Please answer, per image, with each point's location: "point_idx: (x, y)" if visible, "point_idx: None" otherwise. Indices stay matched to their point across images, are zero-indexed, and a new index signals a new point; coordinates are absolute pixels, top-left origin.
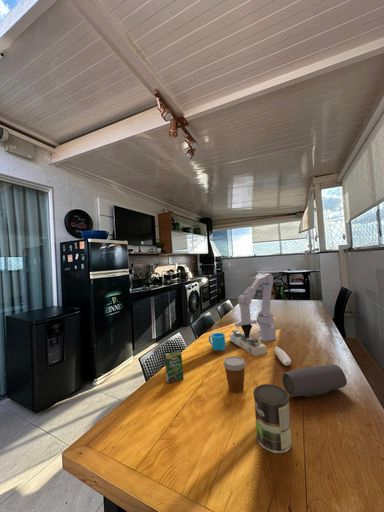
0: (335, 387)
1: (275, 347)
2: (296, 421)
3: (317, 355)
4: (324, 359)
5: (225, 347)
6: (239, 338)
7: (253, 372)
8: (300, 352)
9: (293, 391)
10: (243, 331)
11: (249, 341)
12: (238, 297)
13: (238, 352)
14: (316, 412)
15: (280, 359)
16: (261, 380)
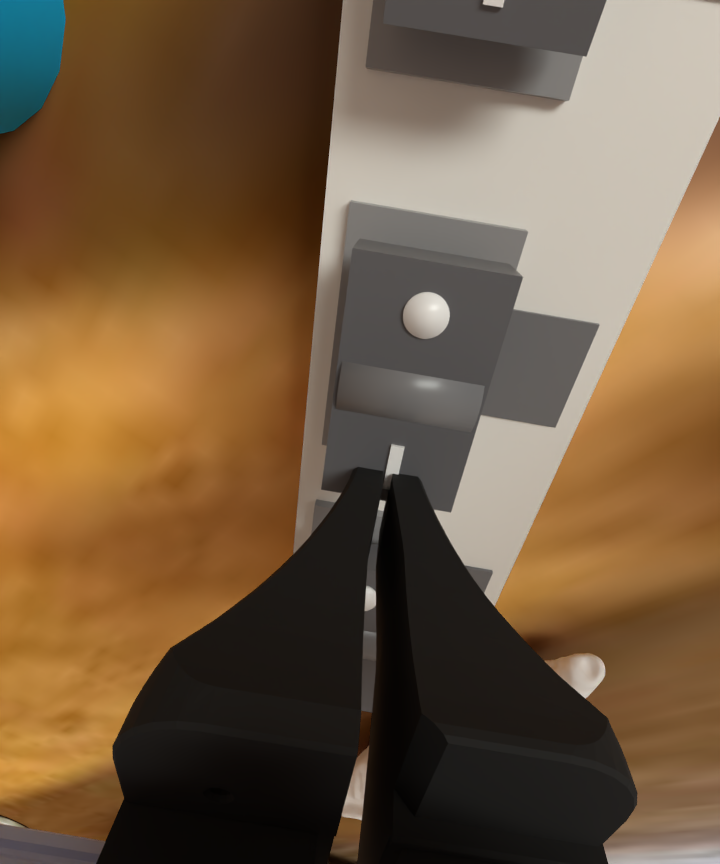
0: None
1: (568, 677)
2: (96, 839)
3: (714, 797)
4: (664, 823)
5: (53, 70)
6: (348, 221)
7: (116, 675)
8: (702, 733)
9: None
10: (309, 537)
11: None
12: None
13: (187, 386)
14: None
15: (361, 766)
16: (116, 728)
